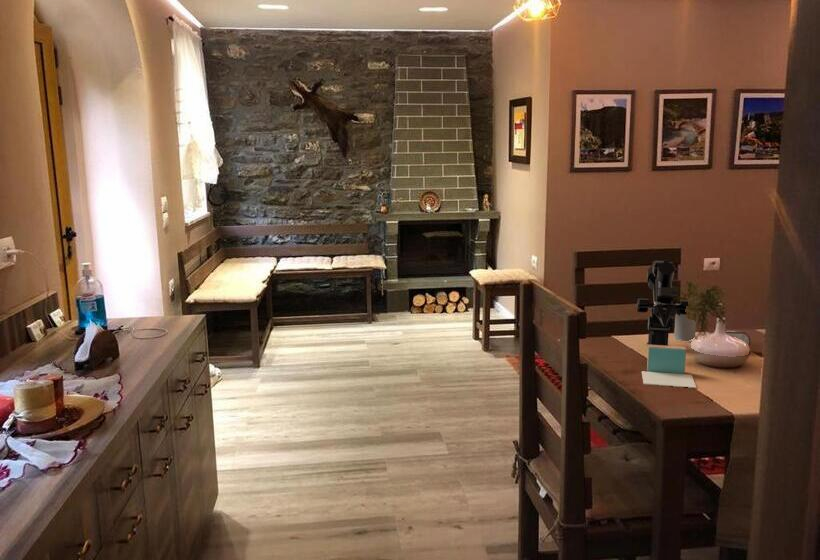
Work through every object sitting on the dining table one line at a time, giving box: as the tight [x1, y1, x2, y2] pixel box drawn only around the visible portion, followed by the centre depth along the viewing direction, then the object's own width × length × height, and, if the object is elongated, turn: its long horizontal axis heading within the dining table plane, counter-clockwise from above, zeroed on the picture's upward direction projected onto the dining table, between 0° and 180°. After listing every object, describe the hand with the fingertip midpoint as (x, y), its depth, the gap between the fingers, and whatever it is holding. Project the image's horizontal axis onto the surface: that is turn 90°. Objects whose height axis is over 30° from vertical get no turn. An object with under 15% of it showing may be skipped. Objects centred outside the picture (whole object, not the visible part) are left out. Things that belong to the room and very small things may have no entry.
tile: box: [646, 344, 687, 374], centre depth 229 cm, size 4×12×9 cm, turn 74°
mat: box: [641, 370, 697, 389], centre depth 221 cm, size 13×16×1 cm
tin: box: [711, 329, 752, 347], centre depth 252 cm, size 15×3×8 cm, turn 84°
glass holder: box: [672, 300, 697, 342], centre depth 272 cm, size 9×14×15 cm, turn 177°
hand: (664, 326), depth 240 cm, fingers closed
